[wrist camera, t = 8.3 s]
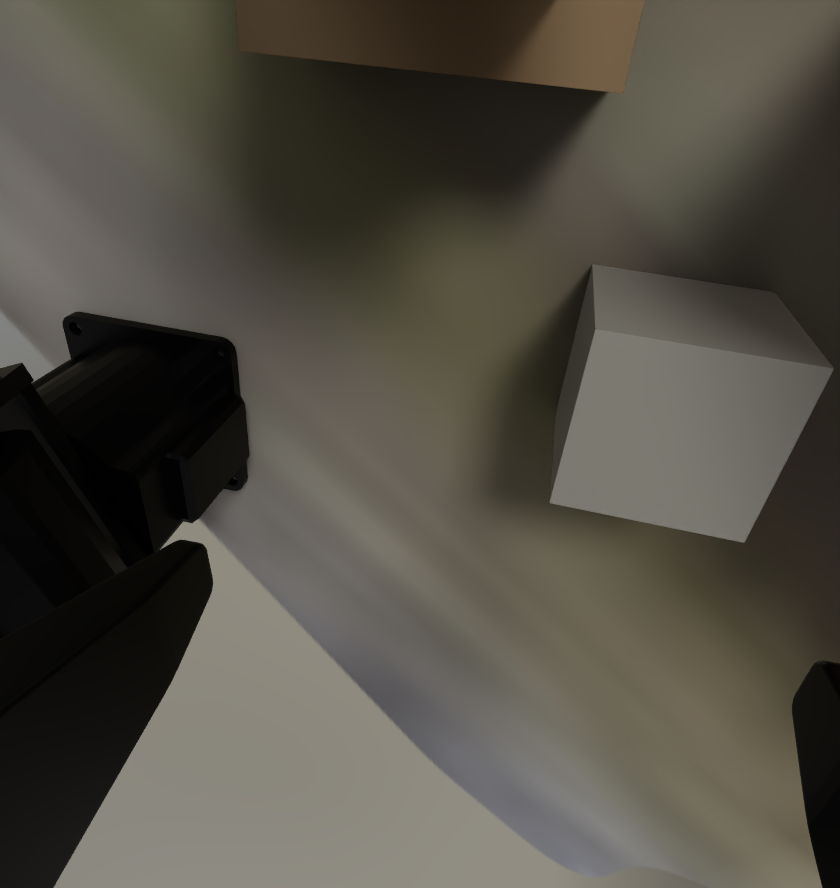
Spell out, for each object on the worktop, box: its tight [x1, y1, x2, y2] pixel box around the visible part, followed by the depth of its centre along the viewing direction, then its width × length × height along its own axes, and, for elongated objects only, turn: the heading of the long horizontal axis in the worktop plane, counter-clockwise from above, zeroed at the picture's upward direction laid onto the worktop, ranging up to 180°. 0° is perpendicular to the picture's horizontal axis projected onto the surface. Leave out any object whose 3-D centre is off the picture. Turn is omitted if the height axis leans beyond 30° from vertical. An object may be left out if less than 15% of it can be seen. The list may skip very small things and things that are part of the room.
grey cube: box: [549, 264, 834, 543], centre depth 17 cm, size 5×5×5 cm
